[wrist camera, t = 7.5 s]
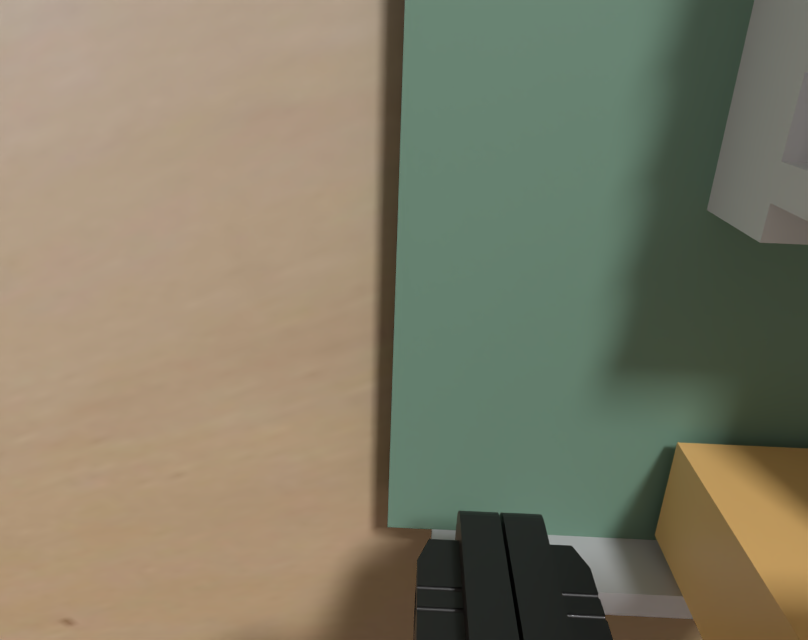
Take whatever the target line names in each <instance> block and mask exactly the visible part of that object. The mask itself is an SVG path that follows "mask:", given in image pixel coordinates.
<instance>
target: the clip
mask: <svg viewBox="0 0 808 640" xmlns="http://www.w3.org/2000/svg"><path fill="white" fill-rule="evenodd" d="M655 537H656V539H657V541H658V543H659V546H660V548H661V550H662V552H663V554H664V556H665V559H666V561H667V563H668V565H669V567H670V569H671V572H672V574H673V576H674V578H675V580H676V582H677V585H678V587H679V589H680V591H681V593H682V595H683V598H684V600H685V602H686V604H687V606H688V608H689V611H690V613H691V615H692V617H693V619H694V621H695V624H696V626H697V628H698V630H699V632H700V634H701V637H702V639H703V640H808V448H787V447H766V446H744V445H723V444H702V443H680V442H677V445H676V449H675V453H674V458H673V462H672V466H671V470H670V474H669V478H668V482H667V486H666V491H665V495H664V499H663V503H662V507H661V511H660V515H659V519H658V523H657V528H656V532H655Z"/></svg>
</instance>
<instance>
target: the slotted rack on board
mask: <svg viewBox="0 0 808 640" xmlns="http://www.w3.org/2000/svg"><path fill="white" fill-rule="evenodd" d="M677 442H680V443H702V444H723V445H744V446H766V447H787V448H808V0H405V13H404V44H403V74H402V104H401V134H400V165H399V195H398V225H397V256H396V286H395V316H394V346H393V377H392V407H391V437H390V468H389V498H388V527H396V528H417V529H432V535H431V539H442V540H455V534H456V523H457V514H458V511H480V512H498V513H499V515H500V513H501V512H504V513H525V514H541V515H542V517H543V519H544V523H545V527H546V531H547V535H548V539H549V543H550V545H571V546H573V548H574V549H575V550H576V551H577V552H578V554H579V555H580V556H581V557H582V559H583V560H584V561H585V562H586V563H587V565H588V566H589V567H590V568H591V571H592V575H593V578H594V581H595V584H596V587H597V591H598V597H599V599H600V600H601V603H602V606H603V610H604V613H605V615H621V616H641V617H661V618H681V619H693V617H692V615H691V613H690V611H689V608H688V606H687V604H686V602H685V600H684V598H683V595H682V593H681V591H680V589H679V587H678V585H677V582H676V580H675V578H674V576H673V574H672V572H671V569H670V567H669V565H668V563H667V561H666V559H665V556H664V554H663V552H662V550H661V548H660V546H659V543H658V541H657V539H656V537H655V532H656V528H657V523H658V519H659V515H660V511H661V507H662V503H663V499H664V495H665V491H666V486H667V482H668V478H669V474H670V470H671V466H672V462H673V458H674V453H675V449H676V445H677Z"/></svg>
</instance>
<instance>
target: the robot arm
mask: <svg viewBox="0 0 808 640" xmlns="http://www.w3.org/2000/svg"><path fill="white" fill-rule="evenodd" d="M413 640H613V638H612V635H611V632H610V629H609V626H608V622H607V621H606V620H605V613H604V610H603V606H602V603H601V600H600V599H599V597H598V591H597V587H596V584H595V581H594V578H593V575H592V571H591V568H590V567H589V566H588V565H587V563H586V562H585V561H584V560H583V559H582V557H581V556H580V555H579V554H578V552H577V551H576V550H575V549H574V548H573V546H571V545H550V543H549V539H548V535H547V531H546V527H545V523H544V519H543V517H542V515H541V514H525V513H504V512H501V513H500V515H499V513H498V512H480V511H458V514H457V523H456V534H455V540H442V539H429V540H428V542H427V544H426V546H425V547H424V549H423V551H422V553H421V554H420V556H419V558H418V560H417V575H416V592H415V609H414V635H413Z"/></svg>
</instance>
